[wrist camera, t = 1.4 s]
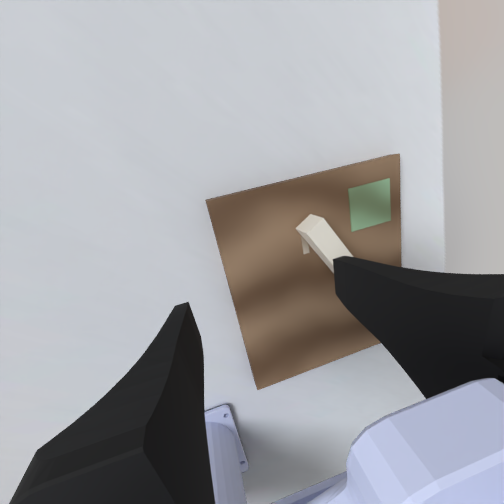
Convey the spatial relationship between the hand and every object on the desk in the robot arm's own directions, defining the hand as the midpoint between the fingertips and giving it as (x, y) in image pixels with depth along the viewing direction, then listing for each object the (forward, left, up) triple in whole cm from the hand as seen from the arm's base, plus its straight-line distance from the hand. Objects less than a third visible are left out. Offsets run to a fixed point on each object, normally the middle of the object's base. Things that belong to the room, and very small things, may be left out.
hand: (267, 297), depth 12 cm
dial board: (-5, -7, -9) cm, 12 cm away
